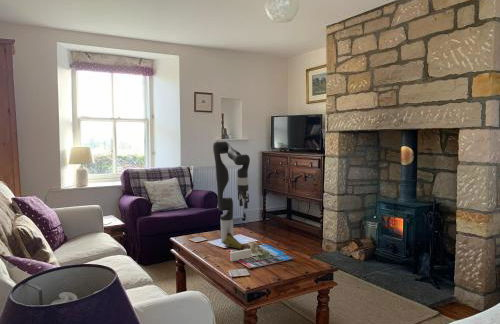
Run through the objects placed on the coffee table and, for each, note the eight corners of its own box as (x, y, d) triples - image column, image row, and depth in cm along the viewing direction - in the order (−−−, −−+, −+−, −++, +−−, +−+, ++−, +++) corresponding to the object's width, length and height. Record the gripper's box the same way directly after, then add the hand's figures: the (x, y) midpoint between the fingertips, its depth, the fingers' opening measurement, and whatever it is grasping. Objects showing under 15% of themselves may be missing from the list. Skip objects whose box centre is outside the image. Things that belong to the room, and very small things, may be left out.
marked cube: (250, 253, 237) (250, 244, 236) (247, 251, 241) (247, 242, 241) (257, 252, 239) (257, 243, 238) (254, 249, 244) (254, 241, 243)
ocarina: (246, 249, 247) (245, 235, 246) (241, 251, 243) (240, 237, 242) (225, 244, 260) (225, 230, 259) (220, 246, 256) (219, 232, 255)
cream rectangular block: (230, 260, 226) (230, 252, 226) (250, 257, 232) (250, 248, 231) (231, 261, 225) (231, 253, 224) (251, 257, 230) (251, 249, 230)
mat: (243, 249, 246) (243, 249, 246) (252, 248, 249) (252, 247, 249) (253, 257, 232) (253, 256, 232) (262, 255, 234) (262, 254, 234)
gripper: (233, 183, 247) (234, 206, 248) (241, 185, 234) (242, 210, 235) (243, 182, 250) (244, 204, 251) (252, 184, 237) (252, 208, 238)
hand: (243, 207), depth 243 cm, fingers open, 8 cm apart
